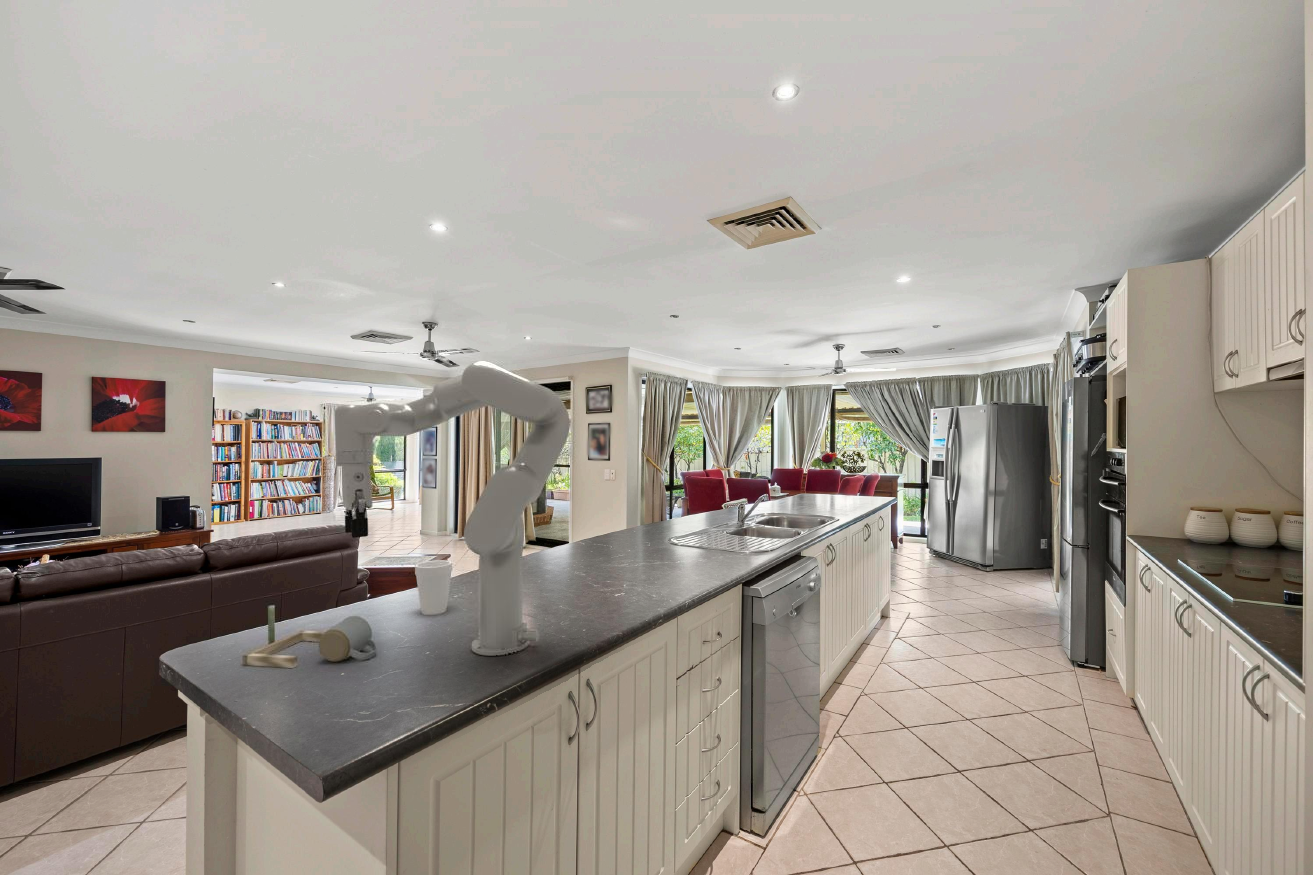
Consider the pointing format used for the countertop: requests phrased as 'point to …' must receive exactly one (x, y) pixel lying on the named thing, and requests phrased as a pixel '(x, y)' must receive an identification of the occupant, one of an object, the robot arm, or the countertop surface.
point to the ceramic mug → (347, 640)
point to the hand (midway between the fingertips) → (356, 534)
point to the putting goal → (278, 646)
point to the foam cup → (433, 585)
